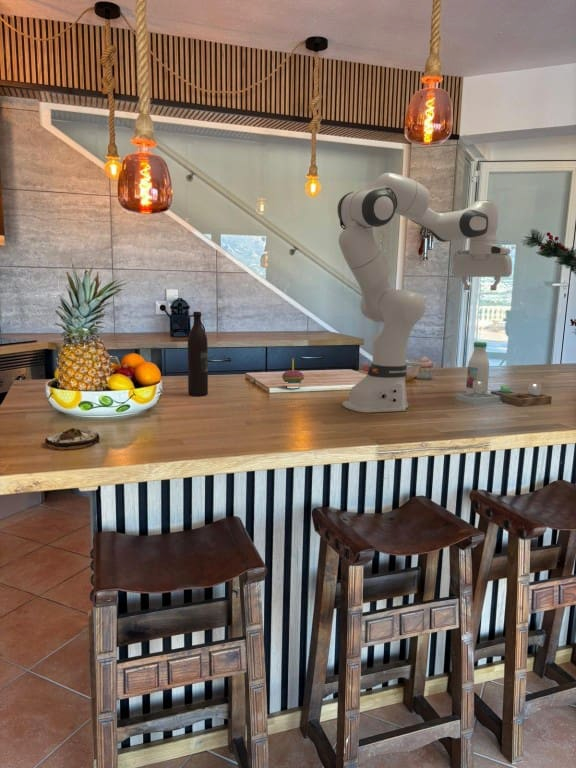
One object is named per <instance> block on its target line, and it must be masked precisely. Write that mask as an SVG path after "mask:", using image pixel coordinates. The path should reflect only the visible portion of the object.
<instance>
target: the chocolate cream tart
mask: <svg viewBox="0 0 576 768" xmlns="http://www.w3.org/2000/svg"><path fill="white" fill-rule="evenodd" d="M100 437H101V436H100V434H99V433H98V432H97V431H96V432H92V431H91V430H87V429H86V430H84V429H79V428H74V427H72V428H69V429H67V430H63V431H58V432H55V433H52V434H50V435H48V436H47V437H46V438H45V439H44V441H45V445H47V446H48V447H49V449H54V450H55V451H72V450H73V451H75V450H80V449H81V450H82V449H85V448H90V447H92V446H94V445H96V444H101V442H100Z"/></svg>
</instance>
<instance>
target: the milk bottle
mask: <svg viewBox="0 0 576 768" xmlns="http://www.w3.org/2000/svg"><path fill="white" fill-rule="evenodd" d="M487 346H488V343H487V342H486V341H474V342H473V352H472V354H471V356H470V358H469V361H468V364H467V371H466V372H467V374H466V385H465V386H466V387H465V393H472V390H473V381H475V380H479V381H485V390H484V393H488V389H489V388H488V387H489V377H490V375H489V374H490V362H489V359H488V356H487V351H486V349H487Z"/></svg>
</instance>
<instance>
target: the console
mask: <svg viewBox="0 0 576 768" xmlns="http://www.w3.org/2000/svg"><path fill="white" fill-rule="evenodd" d="M490 394H492V395H496V396H500V402H502V396H503V395H510V394H521V393H520V392H516V391H513V390H510V393H507V394H505V393H501V392H500V390H499V389H498V390H491V391H490Z"/></svg>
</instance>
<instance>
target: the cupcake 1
mask: <svg viewBox="0 0 576 768" xmlns="http://www.w3.org/2000/svg"><path fill="white" fill-rule="evenodd" d="M291 362H292V363H291V370H289V369H288V370H285V372H283V373H282V377H281V378H282V380H283V381H284V383H285V382H288V383H300V384H301V382H302V380H304V379H305V376H304V375H305V374H303V372H301V371H299V370H295V359H294V358H292V359H291Z"/></svg>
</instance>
